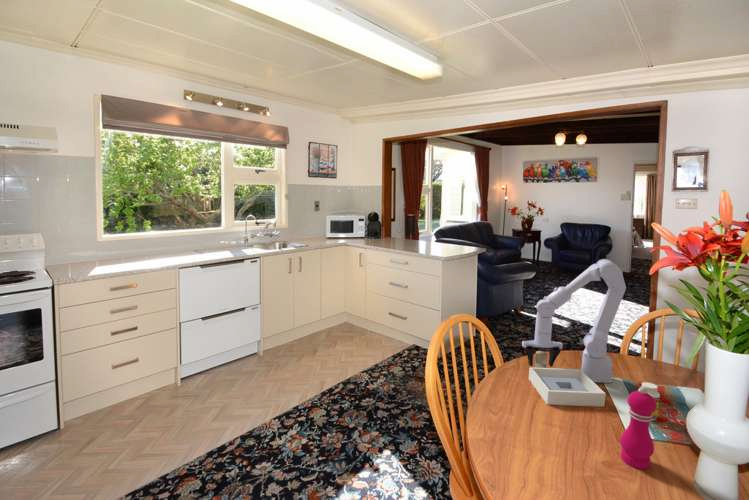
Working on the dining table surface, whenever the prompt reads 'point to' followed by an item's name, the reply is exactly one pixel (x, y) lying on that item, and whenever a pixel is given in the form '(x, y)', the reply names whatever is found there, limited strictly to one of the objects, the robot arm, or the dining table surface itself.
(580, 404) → the tray
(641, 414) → the pepper mill
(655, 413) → the supplement bottle
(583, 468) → the dining table surface
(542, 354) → the peg
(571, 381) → the bore plate
